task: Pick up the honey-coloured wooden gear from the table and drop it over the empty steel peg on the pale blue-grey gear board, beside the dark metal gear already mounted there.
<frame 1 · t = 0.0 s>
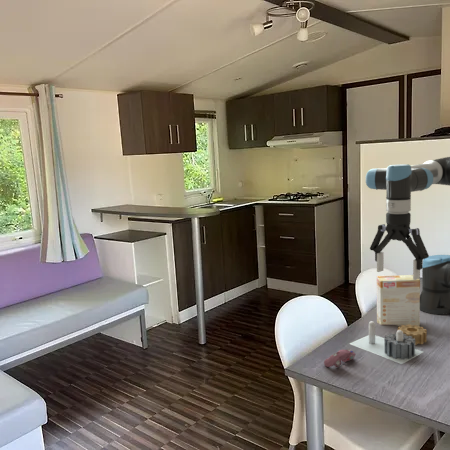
hand: (397, 275, 153), 28 cm above the table, tool pointing down, fingers open, 13 cm apart
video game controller: (340, 365, 151), on the table
coffeecake box: (397, 325, 182), on the table
wooden gear: (411, 342, 165), on the table
gear board: (385, 351, 159), on the table
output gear: (399, 352, 154), resting on gear board
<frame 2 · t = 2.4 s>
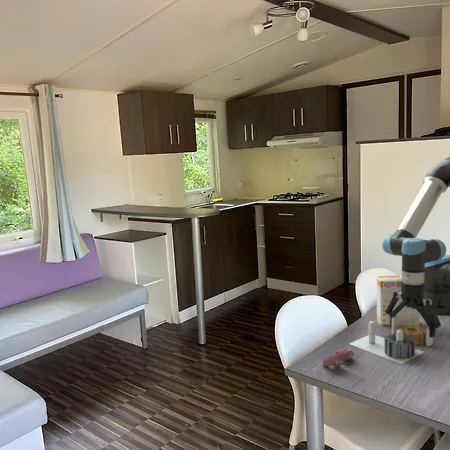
hand: (411, 339, 164), 1 cm above the table, tool pointing down, fingers open, 13 cm apart
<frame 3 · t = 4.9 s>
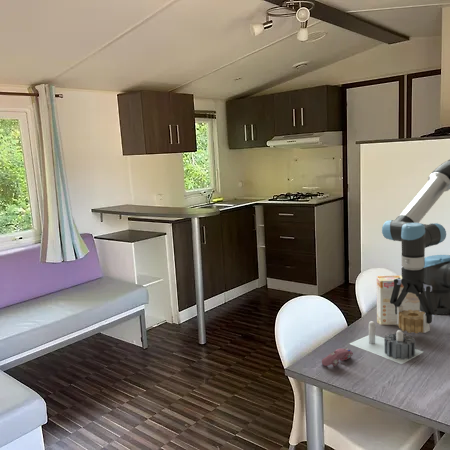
hand: (412, 327, 164), 6 cm above the table, tool pointing down, fingers closed on wooden gear, 10 cm apart
wooden gear: (413, 327, 164), point 6 cm above the table, touching gripper
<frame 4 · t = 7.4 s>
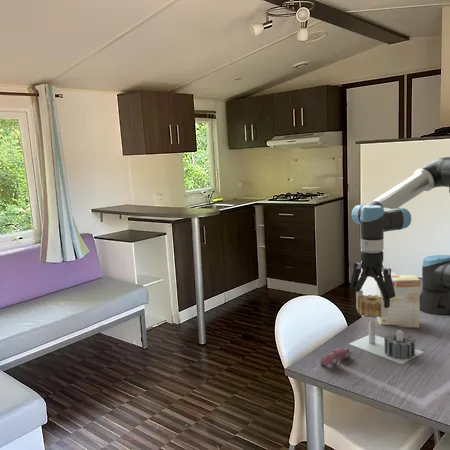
hand: (371, 312, 161), 13 cm above the table, tool pointing down, fingers closed on wooden gear, 10 cm apart
wooden gear: (371, 312, 161), point 13 cm above the table, touching gripper
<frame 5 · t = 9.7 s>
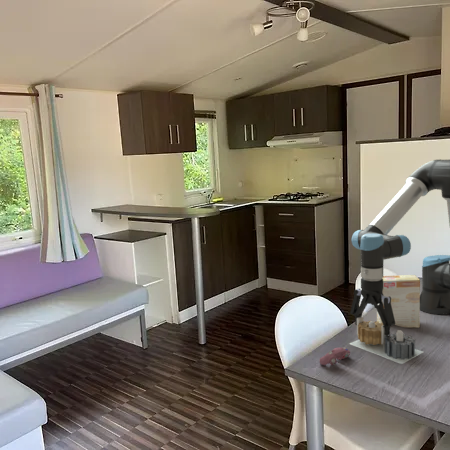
hand: (372, 338, 163), 3 cm above the table, tool pointing down, fingers closed on wooden gear, 10 cm apart
wooden gear: (372, 339, 163), point 3 cm above the table, touching gripper
when the fingers open (3 cm above the table, at t = 10.4 s): wooden gear drops 1 cm, resting on gear board.
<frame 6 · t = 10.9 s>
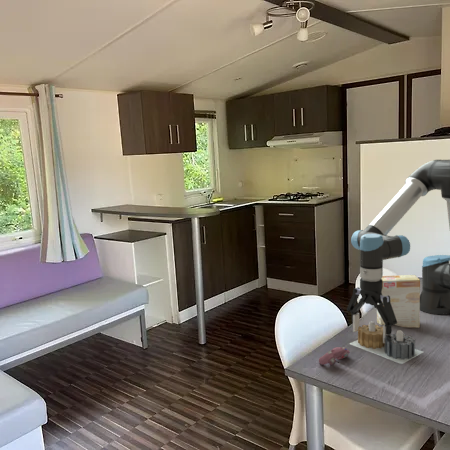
hand: (370, 336, 163), 4 cm above the table, tool pointing down, fingers open, 12 cm apart
wooden gear: (372, 342, 163), point 1 cm above the table, touching gear board
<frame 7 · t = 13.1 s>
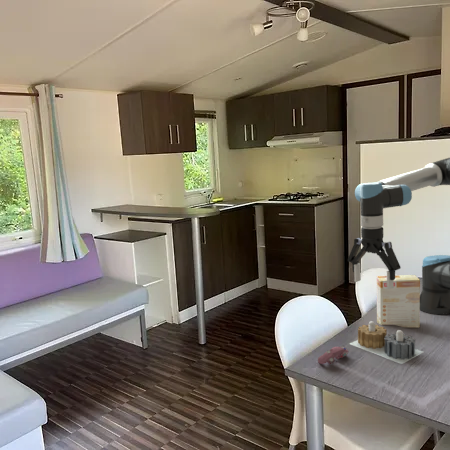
hand: (373, 284, 164), 22 cm above the table, tool pointing down, fingers open, 13 cm apart
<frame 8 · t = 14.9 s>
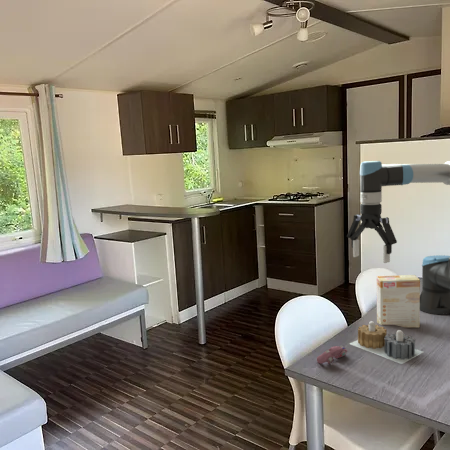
hand: (370, 259, 172), 29 cm above the table, tool pointing down, fingers open, 13 cm apart
at the end: wooden gear 0.1 cm from the target spot on the gear board, point 1.5 cm above the gear board's base; wooden gear tilted 0°; the gripper is holding nothing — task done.
